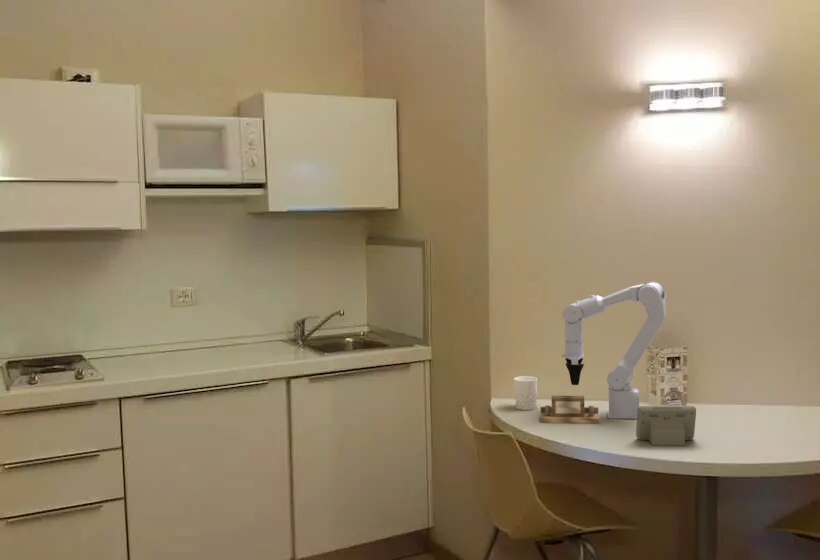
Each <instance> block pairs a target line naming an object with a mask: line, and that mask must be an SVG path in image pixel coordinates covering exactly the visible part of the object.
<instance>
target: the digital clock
mask: <svg viewBox="0 0 820 560" xmlns="http://www.w3.org/2000/svg"><path fill="white" fill-rule="evenodd" d="M639 406H640V405H639ZM696 418H697V408H696V407H695V406H693V405H641V406H640V407H638V409H637V419H636V427H635V428H636V429H635V431H636V432H635V436H636V438H637V439H638V440H641V441H644V440H645V441H649V442H650V441H651V442H650V444H651V443H652V444H651V445H652V446H678V445H683V446H685V445H686V441H691V440H693V439H694V437H695V432H696V431H695V429H696Z"/></svg>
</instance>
